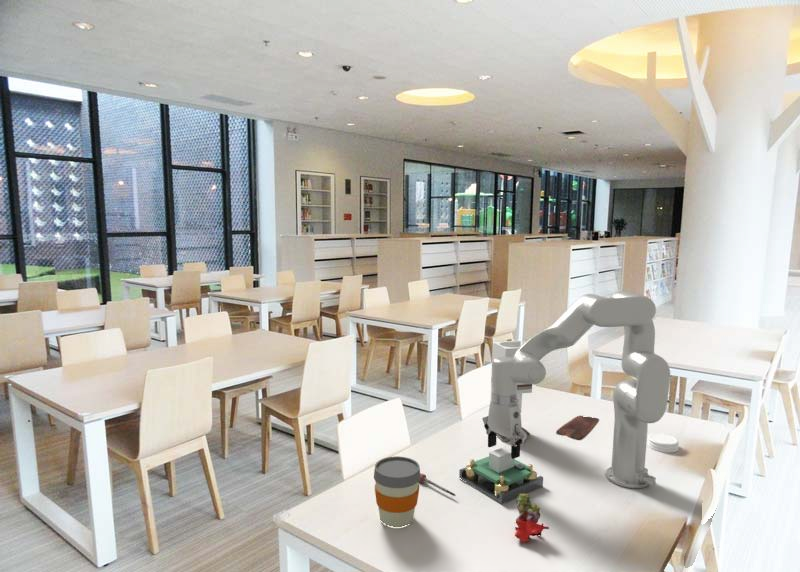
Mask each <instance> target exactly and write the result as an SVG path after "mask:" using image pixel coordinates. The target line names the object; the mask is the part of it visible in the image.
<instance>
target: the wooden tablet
mask: <svg viewBox="0 0 800 572" xmlns="http://www.w3.org/2000/svg"><path fill="white" fill-rule="evenodd" d="M583 416H584V415H578V416H575V417H574V418H572V419H571V420H569V421H567V422H565V424H563V425H562V426H561V427H559V428H558V429H557V430H556V432H555V433H556V435H559V436H562V437H565V436H566V437H568V438H570V439H573V440H581V439H582V438H584V437H585V436H587V435H588V434H589V433H590V431H591V430H592V429H593V428H594V427H595V426H596V425H597V423H598V422H599V418H597V417H593V418H592V416H587V417H583Z"/></svg>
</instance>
